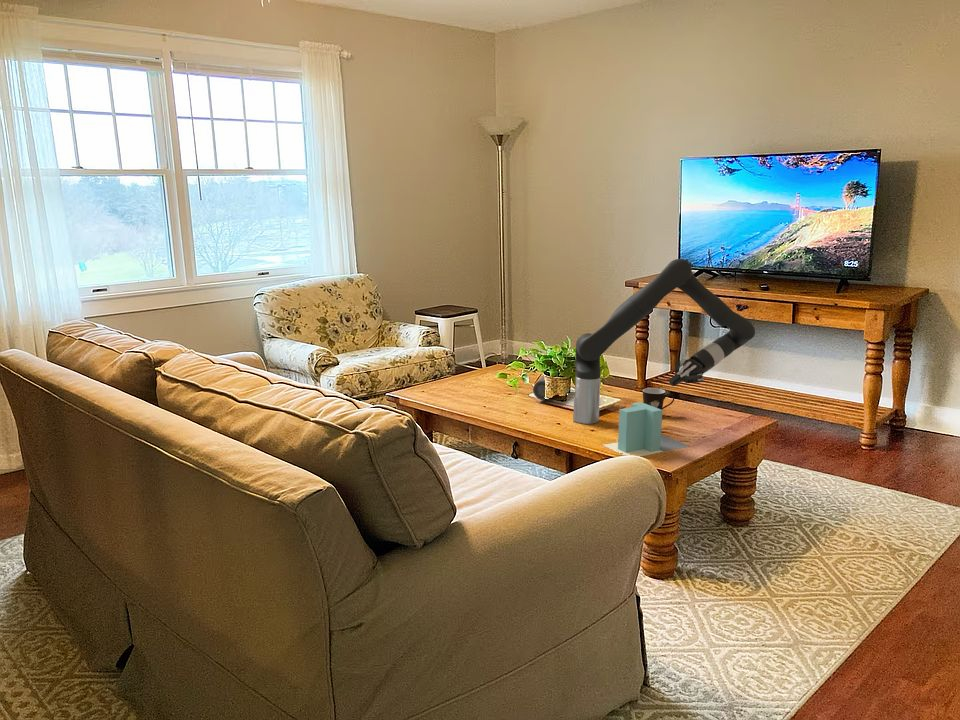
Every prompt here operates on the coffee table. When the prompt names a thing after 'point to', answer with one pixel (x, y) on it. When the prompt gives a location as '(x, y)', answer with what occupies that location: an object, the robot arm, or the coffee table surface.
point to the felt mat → (665, 445)
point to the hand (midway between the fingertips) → (670, 383)
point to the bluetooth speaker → (539, 389)
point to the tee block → (639, 428)
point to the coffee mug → (655, 397)
